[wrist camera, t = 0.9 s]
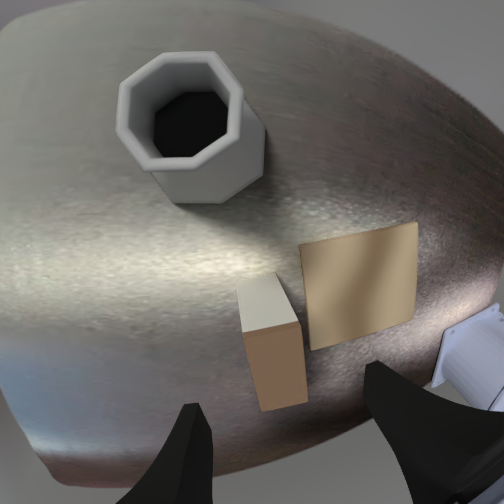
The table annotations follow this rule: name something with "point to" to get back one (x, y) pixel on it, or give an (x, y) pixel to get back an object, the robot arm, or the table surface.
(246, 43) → the table surface
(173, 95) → the flask
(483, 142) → the table surface
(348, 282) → the cork mat
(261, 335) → the cream slab
